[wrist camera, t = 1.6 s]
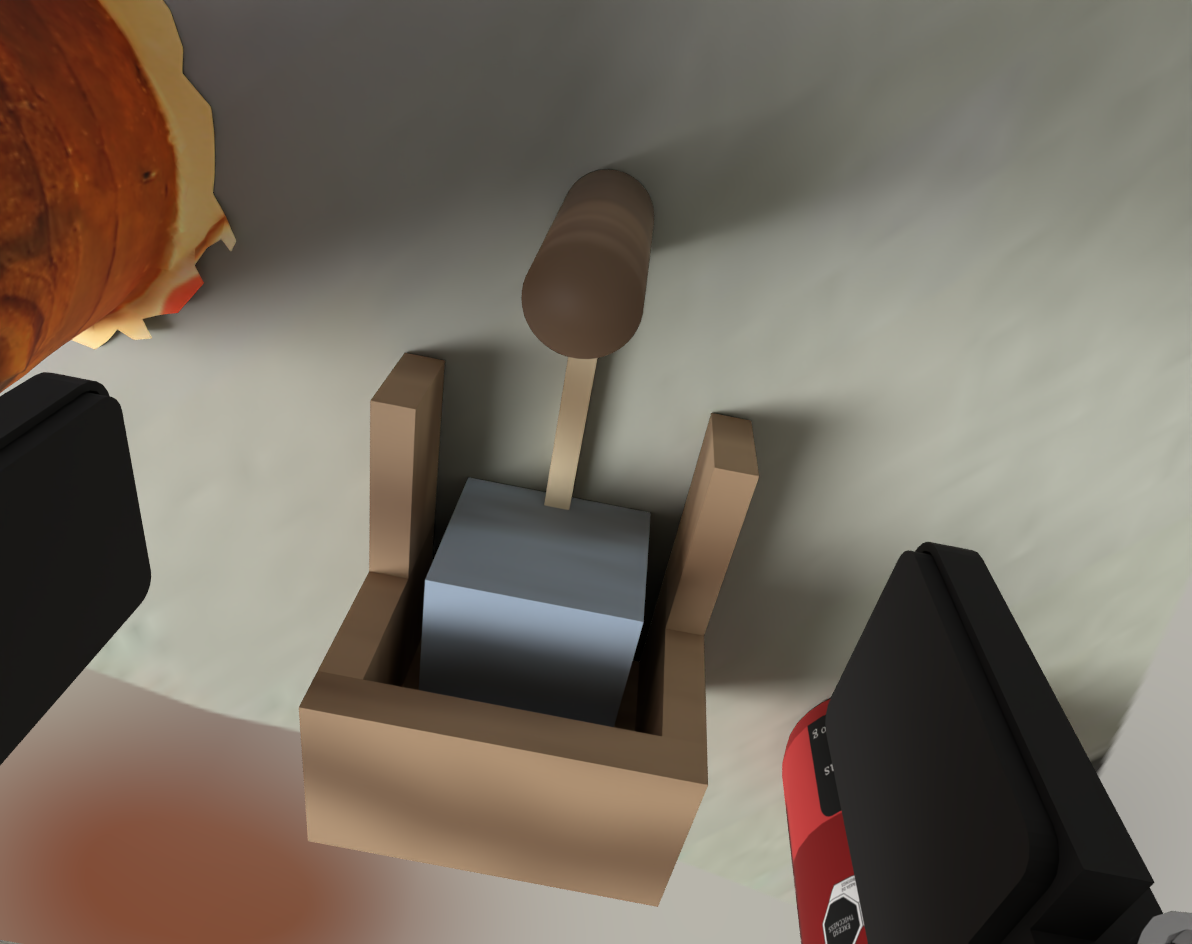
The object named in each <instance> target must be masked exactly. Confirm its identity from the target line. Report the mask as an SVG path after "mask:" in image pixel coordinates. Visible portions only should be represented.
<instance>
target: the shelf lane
mask: <svg viewBox="0 0 1192 944" xmlns="http://www.w3.org/2000/svg"><path fill="white" fill-rule="evenodd" d="M444 368H445V361H444V360H439V359H434V358H429V357H424V356H419V355H414V354H409V353H404V355H403V356H402V357H401V359H400V360H399V362H398V363H397V364H396V366H395V367H394V369H393V370H392V371H391V373H390V374H389V376H388V377H387V378H386V380H385V381H384V382H383V384H382V385H381V387H380V388H379V389H378V391H377V392H376V394H375V395H374V396H373V398H372V399H371V401H370V551H369V573H368V575H367V577H366V579H365V581H364V583H363V585H362V587H361V588H360V590H359V592H358V594H357V596H356V598H355V600H354V602H353V604H352V606H351V608H350V610H349V612H348V614H347V615H346V617H345V619H344V621H343V623H342V625H341V627H340V629H339V631H338V633H337V635H336V637H335V639H334V641H333V642H332V644H331V646H330V648H329V650H328V652H327V654H326V656H325V658H324V660H323V662H322V664H321V666H320V668H319V669H318V671H317V673H316V675H315V677H314V679H313V681H312V683H311V685H310V687H309V689H308V691H307V693H306V695H305V696H304V698H303V700H302V702H301V704H300V706H299V717H300V731H301V746H302V759H303V774H304V788H305V804H306V818H307V832H308V841H311V842H316V843H322V844H327V845H333V846H337V847H343V848H348V849H354V850H359V851H364V852H370V853H375V854H381V855H386V856H391V857H396V858H402V859H407V860H412V861H417V862H423V863H428V864H433V865H439V866H444V867H449V868H455V869H460V870H465V871H470V872H476V873H481V874H487V875H492V876H498V877H503V878H508V879H513V880H518V881H524V882H529V883H534V884H540V885H545V886H550V887H556V888H561V889H566V890H572V891H577V892H582V893H588V894H593V895H598V896H603V897H609V898H615V899H620V900H625V901H630V902H635V903H641V904H646V905H652V906H657V907H658V905H659V902H660V900H661V898H662V895H663V893H664V890H665V888H666V886H667V883H668V881H669V878H670V876H671V874H672V871H673V869H674V866H675V864H676V861H677V859H678V857H679V854H680V852H681V849H682V847H683V844H684V842H685V840H686V837H687V835H688V832H689V830H690V828H691V825H692V823H693V820H694V818H695V815H696V813H697V811H698V808H699V806H700V803H701V801H702V798H703V796H704V794H705V791H706V789H707V786H708V767H707V730H706V693H705V655H704V634H705V631H706V628H707V626H708V623H709V620H710V617H711V614H712V611H713V608H714V605H715V602H716V600H717V597H718V594H719V591H720V588H721V585H722V582H723V579H724V576H725V574H726V571H727V568H728V565H729V562H730V559H731V556H732V553H733V550H734V548H735V545H736V542H737V539H738V536H739V533H740V530H741V527H742V524H743V522H744V519H745V516H746V513H747V510H748V507H749V504H750V501H751V498H752V496H753V493H754V490H755V487H756V484H757V481H758V478H759V472H758V465H757V458H756V451H755V444H754V437H753V430H752V423H751V420H745V419H740V418H735V417H730V416H725V415H720V414H715V413H711V416H710V419H709V423H708V426H707V430H706V433H705V437H704V440H703V444H702V447H701V451H700V454H699V458H698V461H697V465H696V468H695V471H694V475H693V478H692V482H691V485H690V489H689V492H688V496H687V499H686V503H685V506H684V510H683V513H682V517H681V520H680V523H679V527H678V530H677V534H676V537H675V541H674V544H673V548H672V551H671V555H670V558H669V562H668V565H667V569H666V572H665V575H664V579H663V582H662V586H661V589H660V593H659V596H658V600H657V603H656V607H655V610H654V614H653V617H652V620H651V624H650V627H649V631H648V634H647V638H646V641H645V645H644V648H643V652H642V655H641V659H640V662H637V661H632V664H631V668H630V672H629V675H628V679H627V682H626V686H625V689H624V693H623V696H622V700H621V704H620V707H619V711H618V714H617V718H616V721H615V725H614V727H609V726H604V725H599V724H594V723H588V722H583V721H578V720H573V719H567V718H562V717H557V716H552V715H546V714H541V713H536V712H531V711H526V710H520V709H515V708H510V707H505V706H499V705H494V704H489V703H484V702H478V701H473V700H468V699H463V698H457V697H452V696H447V695H442V694H436V693H431V692H426V691H421V690H419V676H420V659H421V642H422V625H423V608H424V591H425V579H426V577H427V574H428V572H429V570H430V567H431V565H432V551H433V536H434V521H435V506H436V490H437V475H438V460H439V445H440V429H441V414H442V399H443V384H444Z"/></svg>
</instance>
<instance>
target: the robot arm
mask: <svg viewBox="0 0 1192 944" xmlns="http://www.w3.org/2000/svg"><path fill="white" fill-rule="evenodd" d="M150 582H151V569H150V564H149V558H148V553H147V547H146V541H145V536H144V530H143V525H142V519H141V514H140V508H139V502H138V497H137V491H136V486H135V480H134V475H133V469H132V463H131V458H130V452H129V447H128V441H127V436H126V430H125V425H124V419H123V413H122V409H121V406H120V404H119V402H118V401H117V400H116V399H114V398H113V397H110V396H109V393H108V391H107V390H106V388H105V387H104V386H103V385H102V384H100V383H98V382H97V381H91V380H86V379H81V378H76V377H71V376H65V375H60V374H55V373H46V372H43V373H40V374H38V375H35V376H33V377H32V378H30V379H28V380H27V381H25V382H23V383H22V384H20V385H18V386H17V387H15V388H13V389H12V390H10V391H8V392H7V393H5V394H3V395H2V396H0V765H1V764H2V763H3V762H4V760H5V759H6V758H7V757H8V756H9V755H10V753H11V752H12V751H13V750H14V749H15V748H16V746H17V745H18V744H19V743H20V742H21V741H22V740H23V739H24V737H25V736H26V735H27V734H28V733H29V732H30V730H31V729H32V728H33V727H34V726H35V724H37V722H38V721H39V720H40V719H41V718H42V717H43V715H44V714H45V713H46V712H47V711H48V710H49V709H50V707H51V706H52V705H53V704H54V703H55V702H56V700H57V699H58V698H59V697H60V696H61V695H62V694H63V693H64V691H65V690H66V689H67V688H68V687H69V686H70V684H71V683H72V682H73V681H74V680H75V679H76V677H77V676H78V675H79V674H80V673H81V672H82V671H83V670H84V668H85V667H86V666H87V665H88V664H89V663H90V662H91V660H92V659H93V658H94V657H95V656H96V655H97V653H98V652H99V651H100V650H101V649H102V648H103V647H104V645H105V644H106V643H107V642H108V641H109V640H110V639H111V637H112V636H113V635H114V634H115V633H116V632H117V630H118V629H119V628H120V627H121V626H122V625H123V624H124V622H125V621H126V620H127V619H128V618H129V617H130V616H131V614H132V613H133V612H134V611H135V610H136V609H137V607H138V606H139V605H140V604H141V603H142V601H143V600H144V598H145V596H146V594H147V592H148V590H149V586H150ZM825 728H826V735H827V740H828V745H829V750H830V755H831V760H832V765H833V770H834V775H835V780H836V785H837V790H838V796H839V801H840V806H841V811H842V816H843V821H844V826H845V831H846V836H847V841H848V846H849V851H850V856H851V861H852V866H853V871H854V876H855V881H856V886H857V891H858V896H859V901H860V906H861V911H862V917H863V922H864V927H865V932H866V937H867V942H868V944H1192V913H1187V912H1176V911H1170V912H1167V913H1164V914H1163V912H1162V910H1161V908H1160V906H1159V904H1158V903H1157V901H1156V899H1155V897H1154V895H1153V893H1152V891H1151V889H1150V886H1151V885H1152V884H1153V883H1154V881H1153V879H1152V877H1151V875H1150V873H1149V871H1148V869H1147V867H1146V865H1145V864H1144V862H1143V860H1142V858H1141V856H1140V854H1139V852H1138V850H1137V849H1136V847H1135V845H1134V843H1133V841H1132V839H1131V838H1130V835H1129V834H1128V832H1127V830H1126V828H1125V826H1124V824H1123V822H1122V820H1121V819H1120V817H1119V815H1118V813H1117V811H1116V809H1115V807H1114V805H1113V804H1112V802H1111V800H1110V798H1109V796H1108V794H1107V792H1106V790H1105V788H1104V787H1103V785H1102V783H1101V781H1100V779H1099V777H1098V775H1097V773H1096V771H1095V770H1094V768H1093V766H1092V764H1091V762H1090V760H1089V758H1088V756H1087V755H1086V753H1085V751H1084V749H1083V747H1082V745H1081V743H1080V741H1079V739H1078V738H1077V736H1076V734H1075V732H1074V730H1073V728H1072V726H1071V724H1070V723H1069V721H1068V719H1067V717H1066V715H1065V713H1064V711H1063V709H1062V708H1061V706H1060V704H1059V702H1058V700H1057V698H1056V696H1055V694H1054V692H1053V691H1052V689H1051V687H1050V685H1049V683H1048V681H1047V679H1046V677H1045V676H1044V674H1043V672H1042V670H1041V668H1040V666H1039V664H1038V662H1037V660H1036V659H1035V657H1034V655H1033V653H1032V651H1031V649H1030V647H1029V645H1028V644H1027V642H1026V640H1025V638H1024V636H1023V634H1022V632H1021V630H1020V629H1019V627H1018V625H1017V623H1016V621H1015V619H1014V617H1013V615H1012V613H1011V612H1010V610H1009V608H1008V606H1007V604H1006V602H1005V600H1004V598H1003V597H1002V595H1001V593H1000V591H999V589H998V587H997V585H996V583H995V582H994V580H993V578H992V576H991V574H990V572H989V570H988V568H987V566H986V565H985V563H984V561H983V559H982V557H981V556H980V555H979V554H978V552H975V551H973V550H968V549H963V548H958V547H953V546H947V545H942V544H937V543H932V542H925V543H923V544H921V545H920V546H919V547H918V548H917V550H916V551H915V552H914V551H909V550H908V551H905V552H904V553H903V554H902V555H901V556H900V558H899V559H898V561H897V563H896V565H895V567H894V569H893V571H892V573H891V575H890V577H889V580H888V582H887V584H886V586H885V588H884V590H883V592H882V594H881V596H880V598H879V600H878V602H877V604H876V606H875V608H874V610H873V612H872V614H871V616H870V619H869V621H868V623H867V625H866V627H865V629H864V631H863V633H862V635H861V637H860V639H859V641H858V643H857V645H856V647H855V649H854V651H853V653H852V655H851V658H850V660H849V662H848V664H847V666H846V668H845V670H844V672H843V674H842V676H841V678H840V680H839V682H838V684H837V686H836V688H835V690H834V692H833V694H832V697H831V699H830V701H829V704H828V707H827V711H826V719H825ZM0 944H19V943H13V942H8V941H3V940H0Z"/></svg>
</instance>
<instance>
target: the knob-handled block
mask: <svg viewBox="0 0 1192 944" xmlns="http://www.w3.org/2000/svg"><path fill="white" fill-rule="evenodd" d="M653 227H654V208H653V204H652V201H651V198H650V196H649V194H648V192H647V191H646V189H645V188H644V187H643V186H642V185H641V183H640V182H639V181H637V180H636V179H635V178H634V177H632V176H630V175H628V174H626V173H624V172H621V171H617V170H611V169H604V170H597V171H594V172H591V173H589V174H587V175H585V176H583V177H582V178H580V179H579V180H578V181H577V182H576V183H575V184H574V185H573V186H572V187H571V189H570V190H569V192H568V194H567V196H566V198H565V200H564V202H563V204H562V206H561V208H560V210H559V212H558V214H557V215H556V217H555V219H554V221H553V223H552V225H551V227H550V229H549V231H548V233H547V235H546V237H545V239H544V241H543V243H542V245H541V247H540V249H539V251H538V253H537V255H536V257H535V259H534V261H533V263H532V265H531V267H530V269H529V271H528V273H527V275H526V277H525V280H524V283H523V288H522V308H523V312H524V316H525V318H526V321H527V323H528V325H529V327H530V329H531V330H532V332H533V333H534V334H535V336H536V337H537V338H538V339H539V340H540V341H541V342H542V343H543V344H544V345H546V346H547V347H549V348H550V349H551V350H553V351H555V352H557V353H559V354H562V355H564V356H567V357H568V361H567V368H566V374H565V380H564V386H563V392H562V398H561V405H560V411H559V417H558V423H557V429H556V435H555V441H554V448H553V454H552V460H551V466H550V472H549V478H548V485H547V491H546V492H541V491H536V490H531V489H526V488H521V487H515V486H510V485H505V484H500V483H495V482H490V481H485V480H479V479H474V478H469V477H468V479H467V482H466V484H465V486H464V489H463V491H462V494H461V496H460V498H459V501H458V503H457V505H456V508H455V510H454V513H453V515H452V517H451V520H450V522H449V524H448V527H447V529H446V532H445V534H444V536H443V539H442V541H441V543H440V546H439V548H438V551H437V553H436V555H435V558H434V560H433V563H432V565H431V567H430V570H429V572H428V574H427V577H426V579H425V591H424V608H423V625H422V642H421V659H420V676H419V690H421V691H426V692H431V693H436V694H442V695H447V696H452V697H457V698H463V699H468V700H473V701H478V702H484V703H489V704H494V705H499V706H505V707H510V708H515V709H520V710H526V711H531V712H536V713H541V714H546V715H552V716H557V717H562V718H567V719H573V720H578V721H583V722H588V723H594V724H599V725H604V726H609V727H614V725H615V721H616V718H617V714H618V711H619V707H620V704H621V700H622V696H623V693H624V689H625V686H626V682H627V679H628V675H629V672H630V668H631V664H632V661H633V657H634V654H635V650H636V647H637V643H638V640H639V636H640V632H641V629H642V625H643V621H644V606H645V591H646V575H647V560H648V544H649V529H650V514H651V513H649V512H644V511H639V510H634V509H629V508H624V507H618V506H613V505H608V504H603V503H598V502H593V501H588V500H582V499H577V498H572V493H573V488H574V482H575V477H576V472H577V466H578V461H579V456H580V450H581V445H582V439H583V434H584V429H585V423H586V418H587V413H588V407H589V402H590V396H591V391H592V386H593V380H594V375H595V370H596V364H597V359H598V358H600V357H604V356H606V355H609V354H611V353H613V352H615V351H617V350H618V349H620V348H621V347H623V346H624V345H625V344H626V343H627V342H628V341H629V340H630V339H631V338H632V337H633V335H634V334H635V332H636V330H637V329H638V327H639V324H640V322H641V318H642V315H643V308H644V300H645V292H646V284H647V276H648V268H649V260H650V251H651V243H652V235H653Z"/></svg>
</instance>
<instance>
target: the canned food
mask: <svg viewBox="0 0 1192 944" xmlns="http://www.w3.org/2000/svg"><path fill="white" fill-rule="evenodd" d="M829 701H830V699H829V700H827V701H824V702H823V703H821V704H820V705H818V706H817V707H815V708H814V709H812V710H811V711H809V712H808V713H807V714H806V715H805V716H804V717H803V718H802V719H801V720H800V721H799V722H798V723H797V725H796V726H795V728H794V729H793V731H792V732H791V734H790V737H789V740H788V743H787V746H786V750H785V755H784V759H783V765H782V778H783V786H784V795H785V804H786V813H787V822H788V831H789V839H790V848H791V857H792V866H793V875H794V884H795V893H796V901H797V910H798V919H799V928H800V937H801V944H868V942H867V937H866V932H865V927H864V922H863V917H862V911H861V906H860V901H859V896H858V891H857V886H856V881H855V876H854V871H853V866H852V861H851V856H850V851H849V846H848V841H847V836H846V831H845V826H844V821H843V816H842V811H841V806H840V801H839V796H838V790H837V785H836V780H835V775H834V770H833V765H832V760H831V755H830V750H829V745H828V740H827V735H826V728H825V719H826V711H827V707H828V704H829Z"/></svg>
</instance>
